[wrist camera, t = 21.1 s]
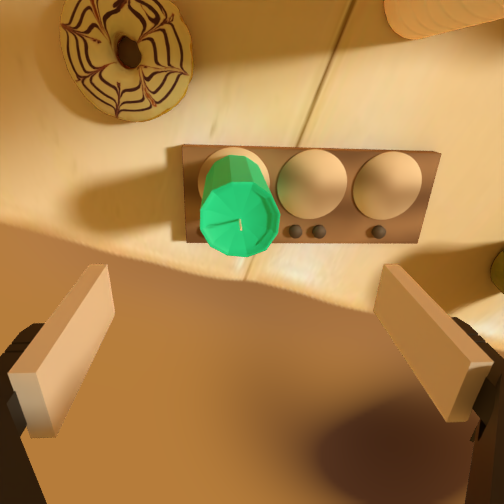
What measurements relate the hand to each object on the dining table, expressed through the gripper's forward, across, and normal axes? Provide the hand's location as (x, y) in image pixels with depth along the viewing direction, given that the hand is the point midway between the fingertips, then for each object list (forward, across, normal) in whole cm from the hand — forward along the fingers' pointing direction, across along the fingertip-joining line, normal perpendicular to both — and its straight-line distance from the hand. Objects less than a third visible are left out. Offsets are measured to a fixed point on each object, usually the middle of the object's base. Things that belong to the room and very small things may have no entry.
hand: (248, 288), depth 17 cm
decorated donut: (+22, -9, +11) cm, 26 cm away
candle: (+20, 0, 0) cm, 20 cm away
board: (+22, +8, -2) cm, 23 cm away
